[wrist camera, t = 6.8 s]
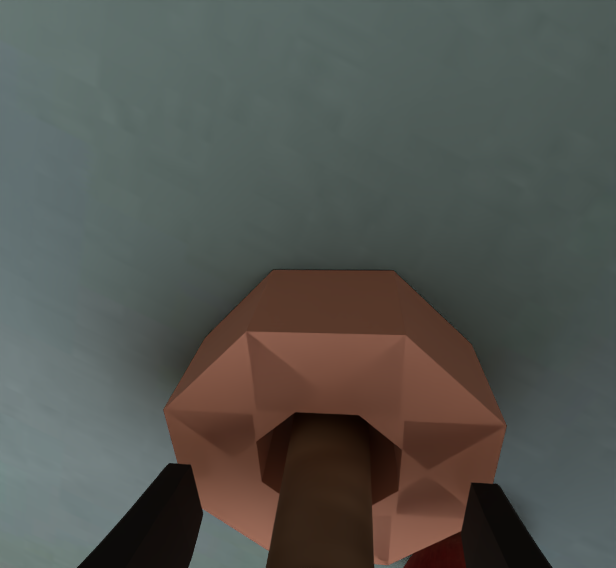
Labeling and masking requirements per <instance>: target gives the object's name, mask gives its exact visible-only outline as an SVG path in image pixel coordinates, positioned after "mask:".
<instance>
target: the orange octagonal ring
mask: <svg viewBox="0 0 616 568" xmlns="http://www.w3.org/2000/svg"><path fill="white" fill-rule="evenodd" d="M163 410H164V414H165V418H166V421H167V425H168V429H169V433H170V436H171V440H172V444H173V448H174V451H175V455H176V459H177V463H178V464H190V465H191V466H192V470H193V474H194V478H195V482H196V486H197V491H198V495H199V499H200V503H201V507H202V509H204V510H206V511H207V512H209V513H210V514H212V515H213V516H215V517H216V518H218V519H220V520H221V521H223V522H224V523H226V524H227V525H229V526H231V527H232V528H234V529H235V530H237V531H238V532H240V533H242V534H243V535H245V536H246V537H248V538H249V539H251V540H252V541H254V542H256V543H257V544H259V545H260V546H262V547H263V548H265V549H267V550H268V551H269V548H270V543H271V537H272V532H273V527H274V521H275V516H276V510H277V505H278V500H279V494H280V489H281V483H282V478H283V472H284V467H285V462H286V456H287V451H288V445H289V440H290V435H291V429H292V424H293V418H294V413H295V412H302V413H324V414H346V415H359V416H360V417H362V418H363V419H364V420H365V421H367V422H368V423H369V436H370V464H371V492H372V520H373V548H374V564H381V565H389V564H391V563H394V562H396V561H398V560H400V559H402V558H404V557H406V556H409V555H411V554H413V553H415V552H417V551H419V550H421V549H424V548H426V547H428V546H430V545H432V544H434V543H436V542H439V541H441V540H443V539H445V538H447V537H449V536H451V535H454V534H456V533H458V532H460V531H461V530H462V525H463V520H464V515H465V510H466V505H467V500H468V495H469V490H470V485H471V482H473V483H489V484H493V481H494V477H495V473H496V468H497V464H498V460H499V456H500V452H501V448H502V443H503V439H504V435H505V431H506V427H507V425H506V423H505V421H504V418H503V416H502V414H501V411H500V409H499V407H498V404H497V402H496V400H495V397H494V395H493V393H492V390H491V388H490V386H489V383H488V381H487V379H486V377H485V374H484V372H483V370H482V367H481V365H480V363H479V360H478V358H477V356H476V353H475V351H474V349H473V346H472V344H471V343H470V342H469V341H467V340H466V339H465V338H464V337H463V336H462V335H461V334H460V333H459V332H458V331H457V330H456V329H455V328H454V327H453V326H452V325H451V324H449V323H448V322H447V321H446V320H445V319H444V318H443V317H442V316H441V315H440V314H439V313H438V312H437V311H436V310H435V309H434V308H433V307H432V306H430V305H429V304H428V303H427V302H426V301H425V300H424V299H423V298H422V297H421V296H420V295H419V294H418V293H417V292H416V291H415V290H414V289H412V288H411V287H410V286H409V285H408V284H407V283H406V282H405V281H404V280H403V279H402V278H401V277H400V276H399V275H398V274H397V273H396V272H395V271H379V270H272V271H271V272H270V273H269V274H268V275H267V276H266V277H265V278H264V279H263V280H262V281H261V282H260V283H259V284H258V285H257V286H256V287H255V288H254V289H253V290H252V291H251V292H250V293H249V294H248V295H247V296H246V297H245V298H244V299H243V300H242V301H241V302H240V303H239V304H238V305H237V306H236V307H235V308H234V309H233V310H232V311H231V312H230V313H229V314H228V315H227V316H226V317H225V318H224V319H223V320H222V321H221V322H220V323H219V324H218V325H217V326H216V327H215V328H214V329H213V330H212V331H211V332H210V333H209V334H208V335H207V336H206V337H205V339H204V340H203V342H202V344H201V346H200V347H199V349H198V351H197V353H196V354H195V356H194V358H193V359H192V361H191V363H190V365H189V366H188V368H187V370H186V371H185V373H184V375H183V377H182V378H181V380H180V382H179V384H178V385H177V387H176V389H175V390H174V392H173V394H172V396H171V397H170V399H169V401H168V402H167V404H166V406H165V408H164V409H163Z"/></svg>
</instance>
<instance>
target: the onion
mask: <svg viewBox="0 0 616 568" xmlns="http://www.w3.org/2000/svg"><path fill="white" fill-rule="evenodd" d="M403 568H466V564H465V558H464V552H463V545H462V539H461V531H460V532H458V533H456V534H454V535H451V536H449V537H447V538H445V539H443V540H441V541H439V542H436V543H434V544H432V545H430V546H428V547H426V548H424V549H421V550H419V551H417V552H415V553H414V554H413V555H412V556H411V557H410V559H409V560H408V561H407V563H406V564H405V566H404V567H403Z"/></svg>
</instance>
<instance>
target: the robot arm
mask: <svg viewBox="0 0 616 568" xmlns="http://www.w3.org/2000/svg"><path fill="white" fill-rule="evenodd" d="M202 517H203V511H202V507H201V503H200V499H199V495H198V491H197V486H196V482H195V478H194V474H193V470H192V466H191V465H190V464H174V463H169V464H168V465H167V466H166V467H165V468H164V469H163V470H162V472H161V473H160V474H159V475H158V476H157V478H156V479H155V480H154V481H153V482H152V484H151V485H150V486H149V487H148V488H147V490H146V491H145V492H144V493H143V494H142V496H141V497H140V498H139V499H138V500H137V502H136V503H135V504H134V505H133V506H132V507H131V509H130V510H129V511H128V512H127V513H126V514H125V516H124V517H123V518H122V519H121V520H120V521H119V522H118V523H117V525H116V526H115V527H114V528H113V529H112V530H111V531H110V532H109V534H108V535H107V536H106V537H105V538H104V539H103V540H102V542H101V543H100V544H99V545H98V546H97V547H96V548H95V549H94V550H93V551H92V552H91V553H90V554H89V556H88V557H87V558H86V559H85V560H84V561H83V562H82V563H81V564H80V565H79V566H78V567H77V568H188V567H189V564H190V561H191V558H192V555H193V552H194V548H195V544H196V541H197V537H198V533H199V529H200V525H201V521H202ZM461 539H462V545H463V552H464V558H465V564H466V568H552V566H551V565H550V563H549V562H548V561H547V559H546V558H545V556H544V555H543V553H542V552H541V550H540V549H539V547H538V546H537V544H536V543H535V541H534V540H533V538H532V537H531V535H530V534H529V532H528V531H527V529H526V528H525V526H524V524H523V523H522V521H521V520H520V518H519V517H518V515H517V513H516V512H515V510H514V509H513V507H512V505H511V504H510V502H509V500H508V499H507V497H506V495H505V494H504V492H503V490H502V489H501V487H500V486H499V485H498V484H489V483H473V482H471V485H470V490H469V495H468V500H467V505H466V510H465V515H464V520H463V525H462V530H461Z"/></svg>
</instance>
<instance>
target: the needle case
mask: <svg viewBox="0 0 616 568" xmlns="http://www.w3.org/2000/svg"><path fill="white" fill-rule="evenodd" d="M266 568H374V548H373V520H372V492H371V464H370V436H369V423H368V422H367V421H365V420H364V419H363V418H362V417H360V416H359V415H346V414H324V413H302V412H295V413H294V418H293V424H292V429H291V435H290V440H289V445H288V451H287V456H286V462H285V467H284V472H283V478H282V483H281V489H280V494H279V500H278V505H277V510H276V516H275V521H274V527H273V532H272V537H271V543H270V548H269V554H268V559H267V564H266Z"/></svg>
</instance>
